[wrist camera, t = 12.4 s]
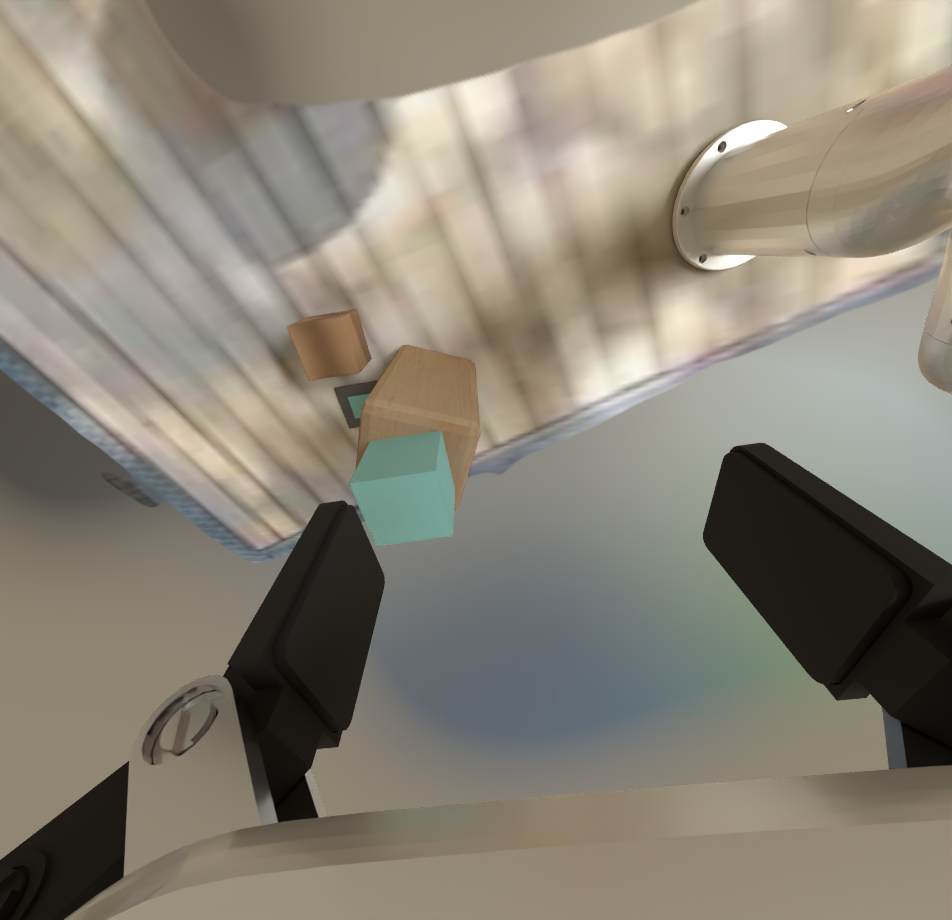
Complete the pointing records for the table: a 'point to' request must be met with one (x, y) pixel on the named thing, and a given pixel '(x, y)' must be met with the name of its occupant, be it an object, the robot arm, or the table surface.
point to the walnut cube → (330, 344)
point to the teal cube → (406, 489)
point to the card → (353, 400)
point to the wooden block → (426, 406)
